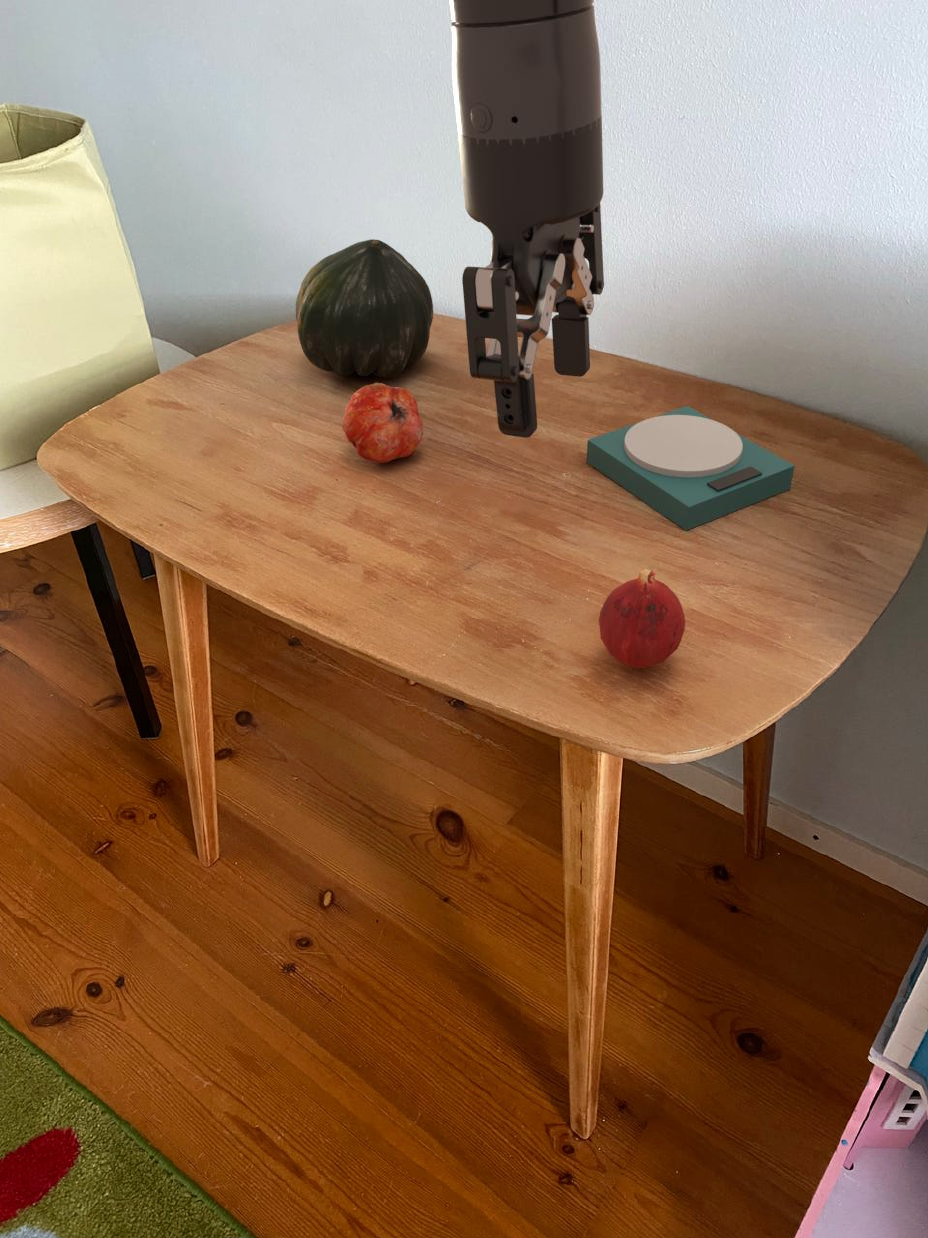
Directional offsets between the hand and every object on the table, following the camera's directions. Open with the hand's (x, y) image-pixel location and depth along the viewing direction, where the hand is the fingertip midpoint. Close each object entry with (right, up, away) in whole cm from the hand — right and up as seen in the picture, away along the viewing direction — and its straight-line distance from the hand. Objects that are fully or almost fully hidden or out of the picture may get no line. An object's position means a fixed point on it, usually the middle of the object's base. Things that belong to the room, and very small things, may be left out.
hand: (546, 401), depth 61 cm
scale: (+15, 0, +29) cm, 32 cm away
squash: (-16, +15, +50) cm, 54 cm away
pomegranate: (-13, +2, +34) cm, 36 cm away
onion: (+7, -17, +9) cm, 20 cm away
